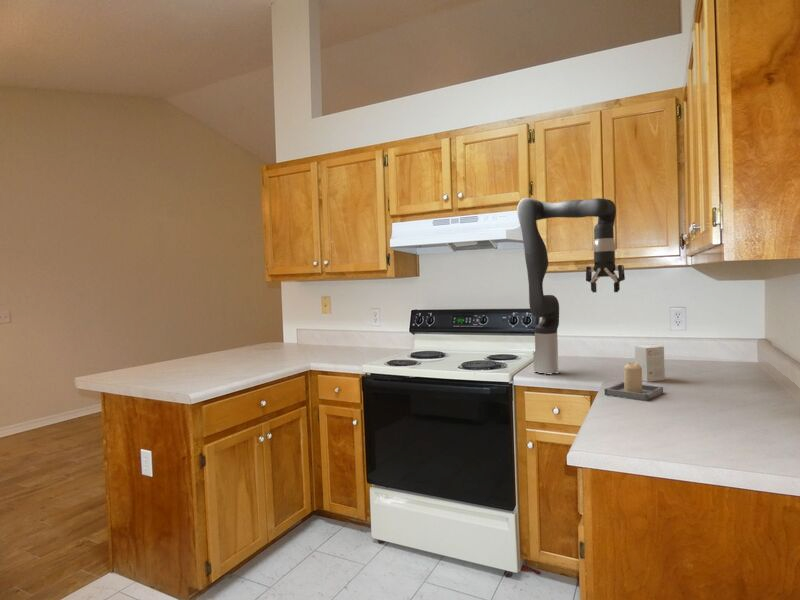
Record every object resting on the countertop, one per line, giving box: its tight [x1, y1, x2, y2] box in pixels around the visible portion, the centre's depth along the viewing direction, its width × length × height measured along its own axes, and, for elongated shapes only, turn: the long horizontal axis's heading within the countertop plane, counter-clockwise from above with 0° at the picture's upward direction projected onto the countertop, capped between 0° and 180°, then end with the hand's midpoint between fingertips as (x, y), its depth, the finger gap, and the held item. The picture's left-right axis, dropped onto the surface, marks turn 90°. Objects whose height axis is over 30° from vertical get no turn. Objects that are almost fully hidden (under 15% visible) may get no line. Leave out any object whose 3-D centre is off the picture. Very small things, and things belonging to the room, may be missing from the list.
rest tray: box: [603, 381, 664, 402], centre depth 166 cm, size 14×14×2 cm
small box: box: [634, 344, 666, 383], centre depth 187 cm, size 8×6×13 cm
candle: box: [623, 362, 643, 393], centre depth 166 cm, size 6×6×10 cm
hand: (605, 292), depth 189 cm, fingers open, 8 cm apart
